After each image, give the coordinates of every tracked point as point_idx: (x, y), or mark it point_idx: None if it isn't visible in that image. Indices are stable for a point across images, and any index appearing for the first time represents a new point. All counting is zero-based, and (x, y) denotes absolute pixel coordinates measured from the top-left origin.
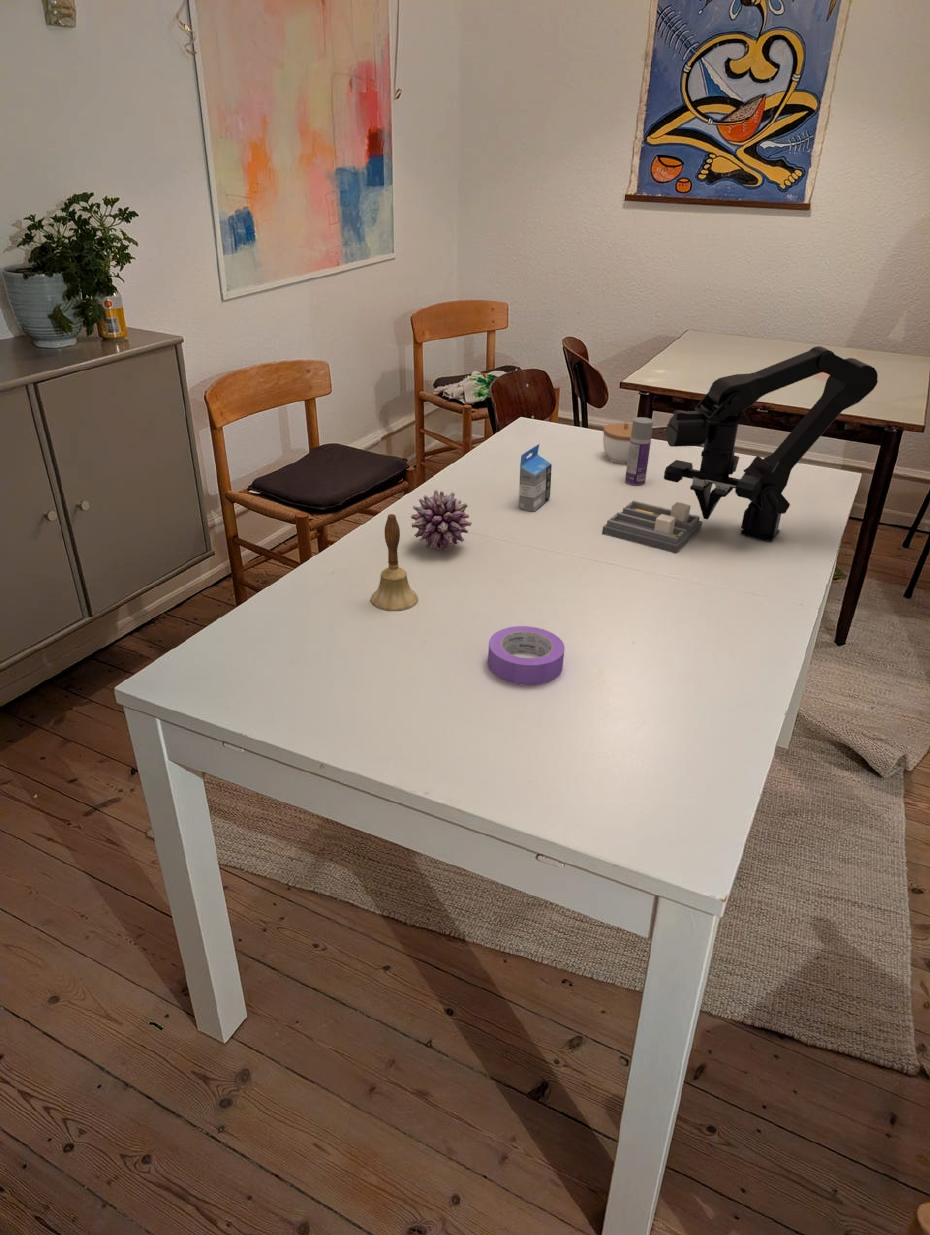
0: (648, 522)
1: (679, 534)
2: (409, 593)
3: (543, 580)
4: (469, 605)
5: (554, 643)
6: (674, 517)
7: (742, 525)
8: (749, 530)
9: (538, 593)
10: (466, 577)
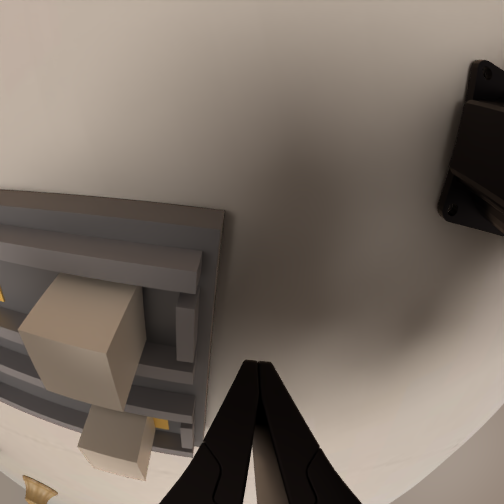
0: None
1: (186, 442)
2: (48, 495)
3: (86, 481)
4: (81, 496)
5: None
6: (133, 463)
7: (462, 178)
8: (482, 208)
9: (105, 494)
10: (35, 470)
